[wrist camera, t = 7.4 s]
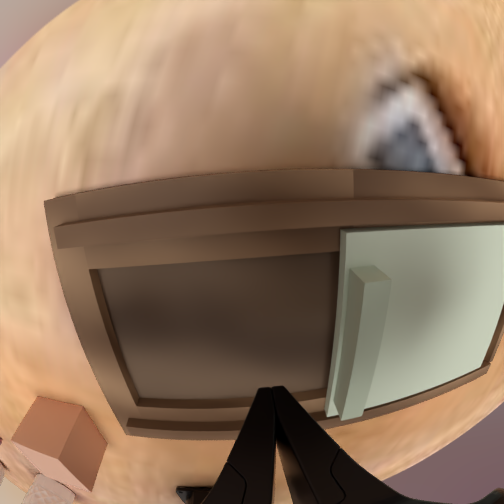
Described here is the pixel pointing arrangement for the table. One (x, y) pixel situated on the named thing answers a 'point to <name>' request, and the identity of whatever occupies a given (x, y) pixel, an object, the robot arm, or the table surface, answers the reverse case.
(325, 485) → the robot arm
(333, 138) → the table surface
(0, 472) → the teacup
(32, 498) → the white cup
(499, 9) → the table surface
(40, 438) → the block
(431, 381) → the lid
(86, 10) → the table surface
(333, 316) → the board
